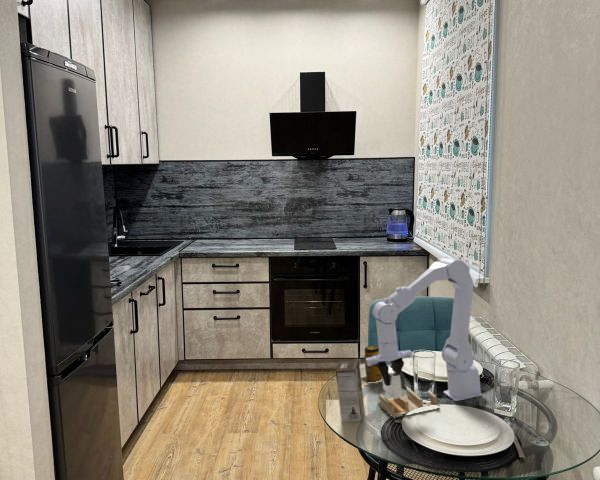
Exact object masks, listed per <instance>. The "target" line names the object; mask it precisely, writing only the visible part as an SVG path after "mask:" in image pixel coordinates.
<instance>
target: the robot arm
mask: <svg viewBox="0 0 600 480" xmlns="http://www.w3.org/2000/svg"><path fill="white" fill-rule="evenodd" d="M470 268H471V267H469V265H468V264H466V262H464V261H463V260H461V259H454V258H450V257H447V256H443V257H440V258H438V259H437V260H436V261H435V262H433V263H432V264H431V265H430V267H428V269H426V270H425V271H424V272H423V273H421V275H420V276H418V277H417V278H416V279H414V281H413V282H412V283H411V284H409V285H408V286H405V285H402V286H401V287H399V286H397V287H396V288H395V291H394V292H393V293H392V294H391V295H390V296H387V297H385V298H383V300H384V301H379V302H376V304H375V305H374V307H373V309H372V311H371V313H372V316H373V317H374V318H375V321H376V323H375V324H376V333H377V346H378V347H379V354H378V355H375V356H372V357H369V358H366V365H367V366H371V365H373V364H376V365H377V367H378V368H379V370H380V372H381V374H382V377H383V379H384V383H385V385H386V386H389V377H388V369H389V367H390V366H389V365H387V363H388V362H391V368H392V369H393V370H394V371H396V372H397V373H398V374H399V375H400V376H401V372H402V370H403V368H404V365H405V360H403V359H407V358H409V359H411V358H413V351H411V350H410V349H407V350H399V349H398V348H399V347H398V338H397V328H396V327H397V326H396V320H397V319H398V317H399V314H400V313H402V311H403V310H405V309H407V308H408V307H409V306H410V305H411V304H412V303H414V302H415V301H416V295H418V294H419V293H421V292H422V291H424V290H425V289H427V288H428V287H429V286H431V285H432V284H434V283H435V282H436V281H437V282H438V281H439V282H441V281H448V282H449V283H450V284H451V285H452V287H454V297H453V306H452V314H451V324H450V335H449V337H448V338H447V339H446V340H445V342H444V343H445V344H444V346H443V348H442V351H441V357H442V360H443V361H444V362H445V365H446V366H445V367H446V377H447V388H448V389H447V390H444V391H443V394H445V395H446V396H448V397H449V398H450V399H452V400H453V401H454V402H459V401H463V400H467V399H472V398H477V397H481V396H483V394H482V391H481V381H480V380H481V379H480V373H479V371H478V368H477V367H476V366H475V365H474V356H473V352H472V351H473V348H472V346H471V343H470V342H469V331H470V324H471V323H470V321H471V312H472V303H473V296H474V295H473V292H474V280H473V278H472V276H471V273H470V270H471V269H470ZM388 366H389V367H388Z"/></svg>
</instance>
